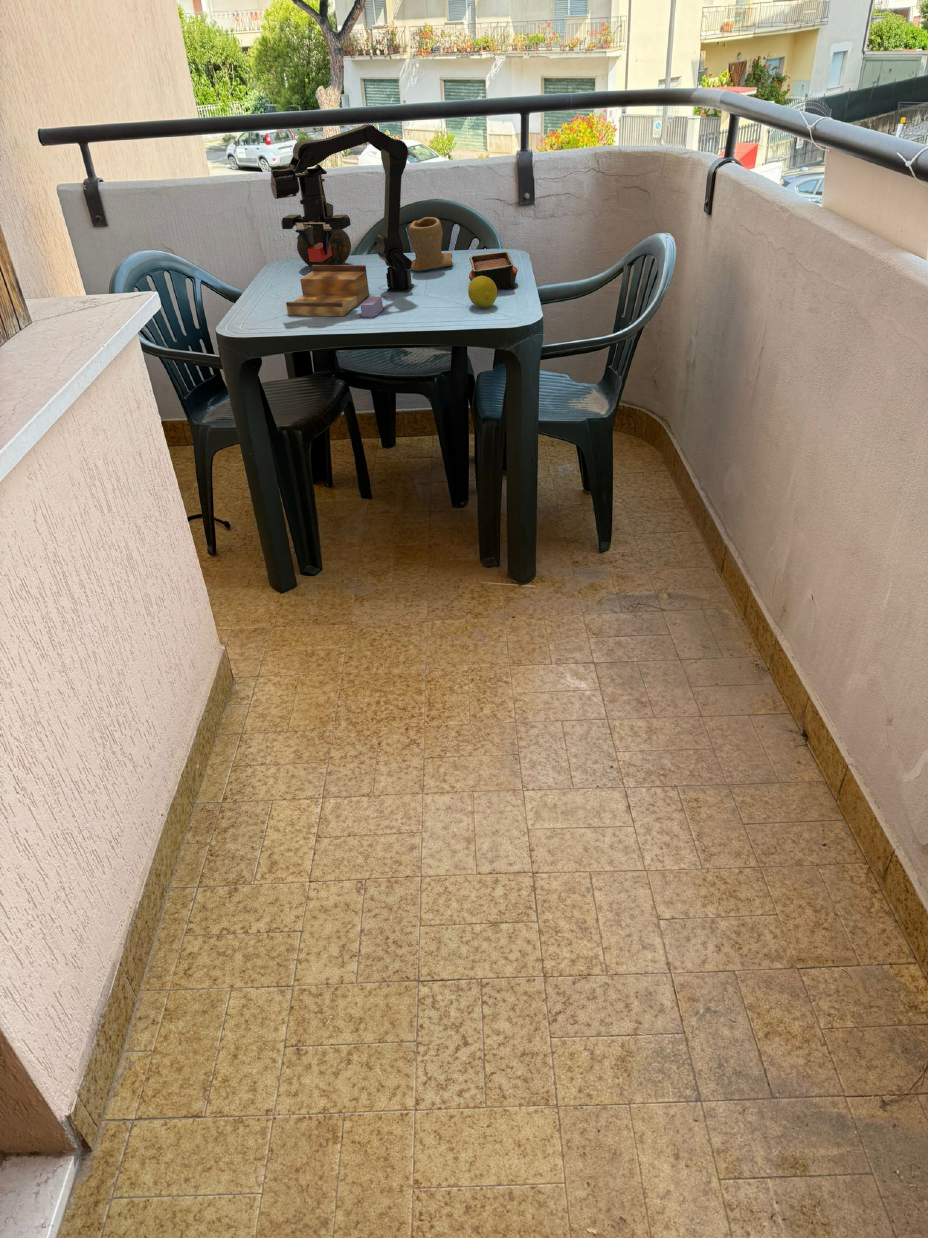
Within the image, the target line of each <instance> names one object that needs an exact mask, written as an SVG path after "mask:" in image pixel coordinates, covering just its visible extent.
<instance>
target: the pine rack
mask: <svg viewBox="0 0 928 1238" xmlns="http://www.w3.org/2000/svg"><path fill="white" fill-rule="evenodd" d="M300 287H301V292H302V295H300V297H298V298H296V299H295V300H293V301H286V302H285V306H286V311H287V315H288V316H304V317H305V316H310V317H311V316H313V317H316V316H317V317H344V316H346V315H347V314H348V313H349V312H351V311H352V310H353V309H354V308H355V307H357V306H358V305H359V304H361V303H363V302H364V301H365V300H366V299H367V298H369V297H370V288H369V281H368V272H367V266H366V265H365V264H342V265H312V267H311V271H310V272H308V273H307V274H305V275H304V276H302V277H301V278H300Z"/></svg>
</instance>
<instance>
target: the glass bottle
mask: <svg viewBox="0 0 928 1238" xmlns="http://www.w3.org/2000/svg"><path fill="white" fill-rule="evenodd" d="M325 181H326V179H325V178H323V177H322V175H320V182H321V189H322V196H325V201H326V203H328V202H327V199H326V198H327V197H326V194H325V193H326V192H325V188H324V184H323V183H324V182H325ZM325 218H330V217H325ZM310 226H313V230H312V235H313V240H314V245H316V244H318V243H322V237H321V232H320V231H321V230H323V229H324V227H323V225H310ZM296 240H297V241H296V249H297V253H298V255H299V257H300V258H301V260H302V261H303V262H304V263H305V264H306V265H307V266H309V267H311V268H312V265H344V264H345V263H346V262H347V260H348V258H349V256H350V254H351V252H352V242H351V238H350V236H349V234H348V233H347V231H345V229H336V230H334V231H333V233H332V236H331V240H330V245H331V252H332V256H330V257H328V258H327V259H325V260H324V261H322V262H310V260H309V254H308V249H309V248H308V246H307V244H306V243H305V241H304V240H303V238H302V237H301V236H300V234H299V233H298V235H297V237H296Z"/></svg>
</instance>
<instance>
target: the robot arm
mask: <svg viewBox="0 0 928 1238" xmlns="http://www.w3.org/2000/svg"><path fill="white" fill-rule="evenodd" d="M367 143H368V144H370V145H371V146H372V147H373V148H374V149H376V150H378V151H379V152H380V157H381V164H382V167H383V171H384V177H385V178H384V206H383V207H384V209H383V210H384V211H383V213H384V214H383V229H382V232H381V235H380V234H377V235H376V247H375V251H377V256H378V257H379V258H380V259H381V260H382V261H383V262H384V263H385V265H386V267H387V268H386V270H387V272H386V274H385V276H386V277H385V278H386V284H387V290H386V291H387V292H408V291H410V290H411V289H412V288H413V287H414V286H415V284H414V283H413V282H412V273H411V270H412V269H411V265H412V260H411V258H409V257H408V256H407V255H405V253H404V244H403V239H402V236H401V233H400V226H401V225H400V224H401V223H400V221H401V199H402V195H401V194H402V177H403V174H404V171H405V169H406V166H407V161H408V157H409V148H408V145H407V144H406V143H405V141H403V140H401V139H397V138H393V137H391V136H389V135H388V134H387V133H384V132H383V131H381V130H379V129H378V128H377V127H376V126H375V125H372V124H369V123H364V124H362V125H361V126H358V127H355V128H352V129H349V130H346V131H343V132H341V133H337V134H334V135H331V136H328V137H325V138H320V139H319V138H318V139H306V140H305V139H304V140H299V141H297V142H296V143H295V144H294V146H293V148H292V156H291V159H290V162H289V164H288V166H287V168H286V169H272V170H270V189H271V193H272V196H273V198H274V199H275V200H278V199H287V198H293V197H297V194H299V192H300V197H301V199H300V200H299V204H300V205H302V210H303V216H302V215H301V214H287V215H286V216H283V217H282V218H281V222H280V225H281V229H282V230H293V229H294V227H295V230H294V231H295V233H296V234H297V233H298V235H299V234H300V236H301V237H302V238H303V240H304V241H305V243H306V244H307V246H308V248H311V247H312V246H314V240H313V235H312V230H313V226H311V225H323V227H324V229H323V230H321V231H320V232H321V237H322V243H323V248H324V252H325V255H328V251H329V246H330V240H331V236H332V233H333V231H334V230H336V229H343V230H345V229H346V228H348V227H350V226H351V218H350V217H349V215H348V214H334V204H332V203H329V202H327V200H326V201H325V198H326V195H325V196H322V189H321V182H320V175H327V174H328V172H327V170H325V168H323V167H322V165H321V164H320V163H322V162H323V161H325V160H326V159H327V158H329V157H331V156H332V155H336V154H337V153H338V154H339V153H341V152H343V151H346V150H349V149H352V148H356V147H358V146H361V145H362V146H363V145H364V144H367ZM326 202H327V203H326ZM325 217H330V218H325Z"/></svg>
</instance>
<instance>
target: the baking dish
mask: <svg viewBox="0 0 928 1238" xmlns="http://www.w3.org/2000/svg"><path fill="white" fill-rule="evenodd" d="M469 262H470V265H471V268H472V269H471V271H470V272H469V274H468V279H469V280H470V282H471V281H472V280H473V279H474V278H476V277H478V276H486V277H488V278H490V279H491V280H493V282H494V283H495V285H496V287H497V290H502V291H503V290H504V291H507V290H515V289H516V287H515V286H516V285H515V284H516V278H517V274H518V272H519V271H518V270H519V269H518V267H516V266H515V265H514V262H513V261H512V257H511V255H510V252H508V251H500V252H489V253H481V254H475V255H474V254H473V255H471V256H470V257H469Z"/></svg>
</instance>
